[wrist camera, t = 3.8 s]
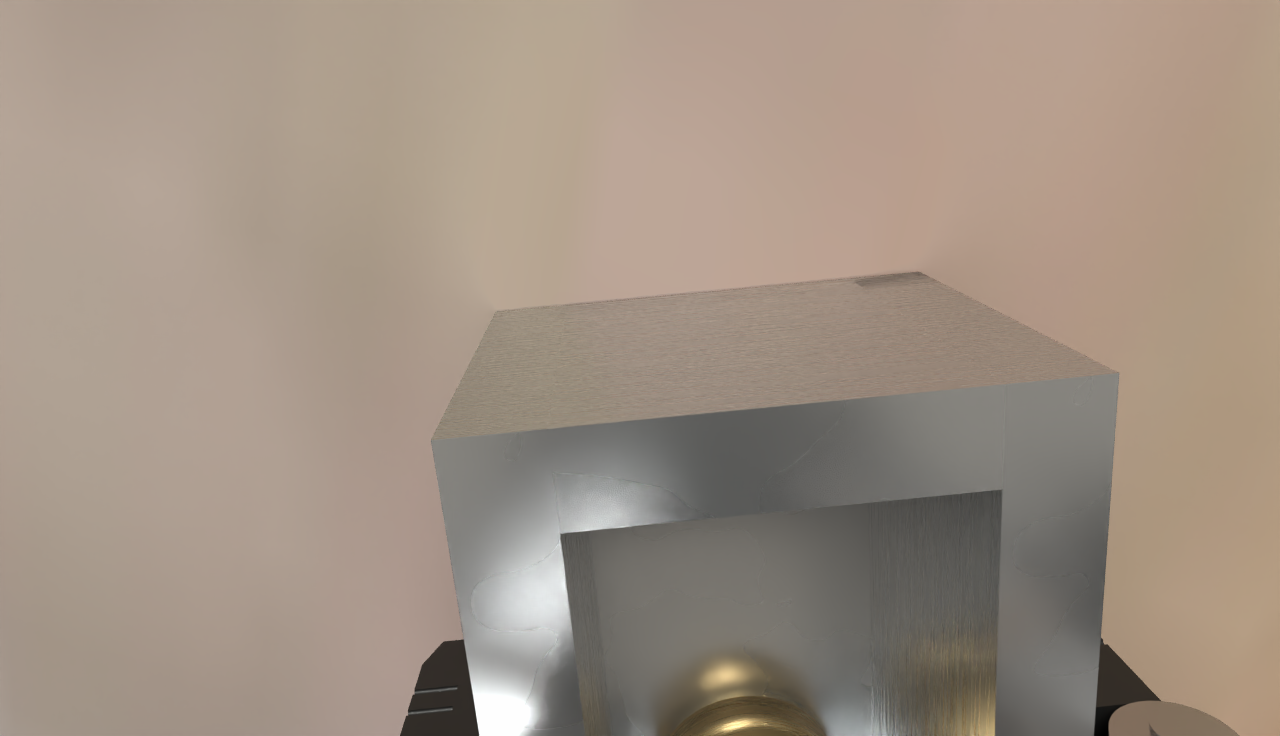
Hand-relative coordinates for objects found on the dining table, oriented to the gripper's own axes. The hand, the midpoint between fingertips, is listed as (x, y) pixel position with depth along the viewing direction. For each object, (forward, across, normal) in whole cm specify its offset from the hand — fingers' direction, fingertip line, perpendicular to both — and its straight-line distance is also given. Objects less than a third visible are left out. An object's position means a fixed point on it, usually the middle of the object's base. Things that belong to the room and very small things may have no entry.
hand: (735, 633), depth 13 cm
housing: (+1, 0, 0) cm, 1 cm away
